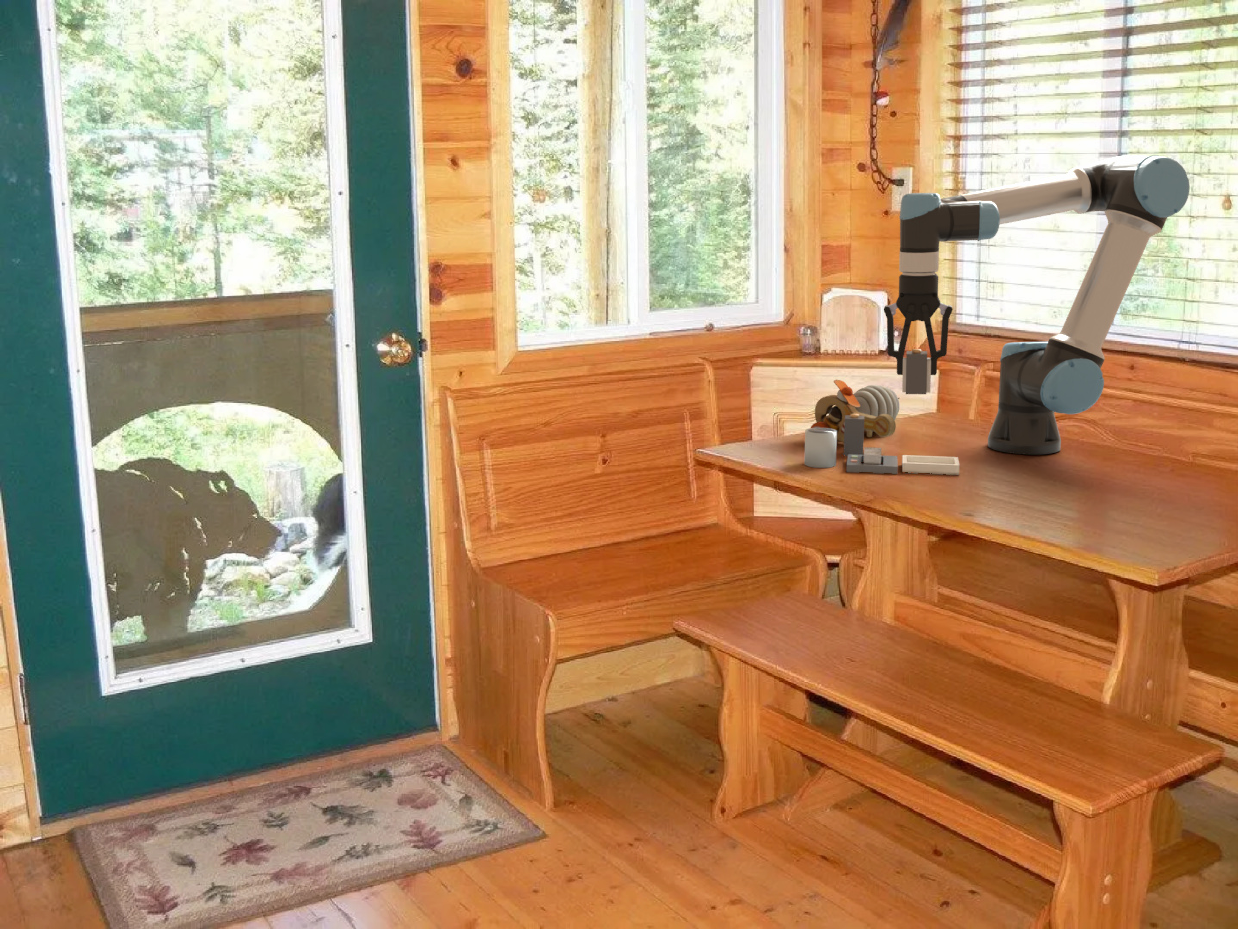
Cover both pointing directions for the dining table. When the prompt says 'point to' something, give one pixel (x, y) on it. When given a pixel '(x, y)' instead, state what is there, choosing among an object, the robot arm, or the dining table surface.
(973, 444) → the dining table surface
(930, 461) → the trough
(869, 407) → the grey ribbed rounded cylinder
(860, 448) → the block
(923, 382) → the cell
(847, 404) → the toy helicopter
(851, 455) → the base
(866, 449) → the grey rectangular block
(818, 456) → the cup
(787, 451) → the dining table surface
